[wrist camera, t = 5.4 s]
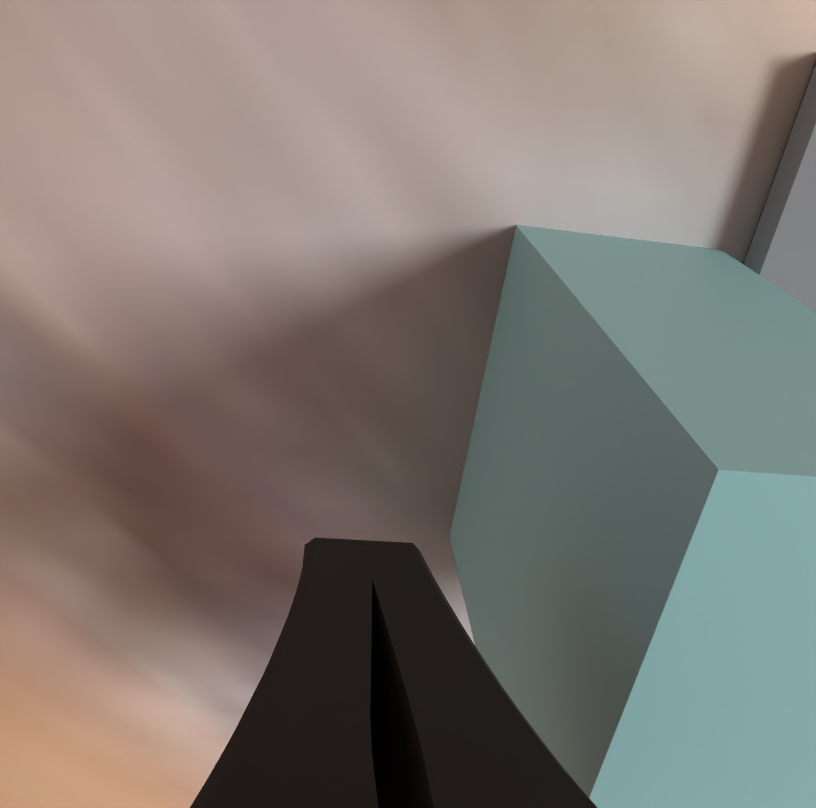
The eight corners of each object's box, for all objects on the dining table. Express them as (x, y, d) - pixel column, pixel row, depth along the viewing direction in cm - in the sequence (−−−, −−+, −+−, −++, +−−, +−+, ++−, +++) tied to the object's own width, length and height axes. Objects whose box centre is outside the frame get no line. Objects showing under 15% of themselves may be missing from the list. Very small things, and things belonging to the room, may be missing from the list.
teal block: (448, 536, 17) (541, 919, 10) (516, 224, 14) (718, 470, 7) (619, 545, 18) (817, 911, 11) (721, 249, 15) (1097, 497, 8)
